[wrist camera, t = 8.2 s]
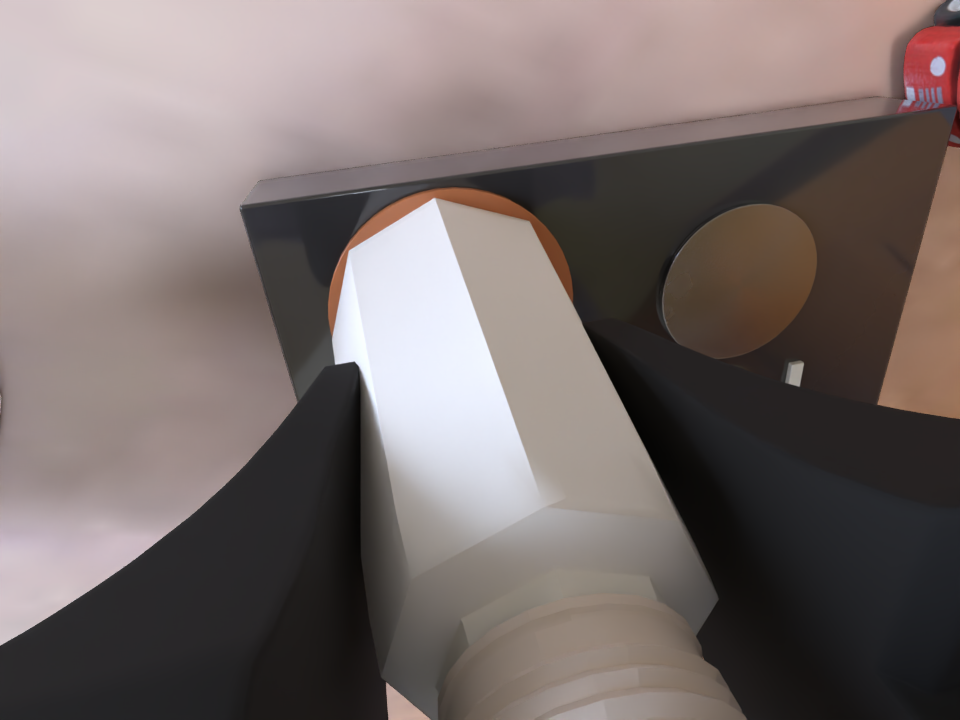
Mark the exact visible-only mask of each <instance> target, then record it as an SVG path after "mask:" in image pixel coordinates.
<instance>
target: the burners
mask: <svg viewBox="0 0 960 720" xmlns="http://www.w3.org/2000/svg"><path fill="white" fill-rule="evenodd" d="M433 198H438V199H442V200H446V201H450V202H454V203H458V204H462V205H466V206H470V207H474V208H478V209H483V210H487V211H491V212H495V213H499V214H503V215H507V216H511V217H515V218H519V219H523V220H527V221H530V223H531V225H532V227H533V229H534V231H535V233H536V235H537V237H538V238H539V240H540V242H541V244H542V246H543V248H544V250H545V252H546V254H547V256H548V258H549V260H550V261H551V263H552V265H553V267H554V269H555V271H556V273H557V275H558V277H559V279H560V281H561V283H562V284H563V286H564V288H565V290H566V292H567V294H568V296H569V298H570V300H571V302H572V304H573V288H572V279H571V275H570V270H569V266H568V263H567V261H566V258H565V256H564V253H563V251H562V249H561V248H560V246H559V244H558V242H557V241H556V239H555V238H554V236H553V235H552V234H551V232H550V231H549V230H548V229H547V227H546V226H545V225H544V224H543V223H542V222H541V221H540V220H539V219H538V218H536V217H535V216H534V215H533V214H532V213H531V212H529V211H528V210H527V209H525V208H524V207H522V206H521V205H519V204H518V203H516V202H514V201H512V200H510V199H508V198H506V197H503V196H501V195H498V194H495V193H492V192H489V191H484V190H479V189H474V188H461V187H450V188H437V189H432V190H427V191H423V192H419V193H416V194H413V195H410V196H407V197H405V198H402V199H400V200H398V201H396V202H394V203H393V204H391V205H389V206H387V207H386V208H384V209H383V210H381V211H380V212H378V213H377V214H375V215H374V216H373V217H372V218H371V219H369V220H368V221H367V222H366V223H365V224H364V225H363V226H362V227H361V228H360V229H359V230H358V231H357V233H356V234H355V235H354V236H353V237H352V239H351V240H350V241H349V243H348V244H347V246H346V248H345V249H344V251H343V253H342V254H341V256H340V258H339V261H338V263H337V265H336V268H335V270H334V274H333V277H332V281H331V285H330V292H329V300H328V319H329V325H330V331H331V335H332V337H333V332H334V326H335V321H336V316H337V310H338V305H339V300H340V294H341V289H342V284H343V278H344V273H345V268H346V262H347V257H348V252H349V250H351V249H352V248H354V247H356V246H357V245H359V244H360V243H362V242H364V241H365V240H367V239H369V238H370V237H372V236H373V235H375V234H377V233H378V232H380V231H382V230H383V229H385V228H386V227H388V226H390V225H391V224H393V223H394V222H396V221H398V220H399V219H401V218H403V217H404V216H406V215H407V214H409V213H411V212H412V211H414V210H416V209H417V208H419V207H420V206H422V205H424V204H425V203H427V202H429V201H430V200H432V199H433ZM816 269H817V251H816V244H815V241H814V238H813V235H812V233H811V232H810V230H809V228H808V226H807V225H806V224H805V222H804V221H803V220H802V219H801V218H800V217H799V216H798V215H796V214H795V213H793V212H792V211H790V210H788V209H786V208H783V207H781V206H778V205H775V204H771V203H765V202H751V203H743V204H739V205H735V206H732V207H729V208H726V209H724V210H722V211H720V212H718V213H715V214H714V215H712V216H710V217H709V218H707V219H706V220H704V221H703V222H702V223H700V224H699V225H698V226H697V227H695V228H694V229H693V230H692V231H691V232H690V233H689V234H688V235H687V236H686V237H685V238H684V240H683V241H682V242H681V243H680V245H679V246H678V247H677V249H676V250H675V252H674V253H673V255H672V257H671V259H670V261H669V262H668V264H667V267H666V269H665V272H664V275H663V278H662V282H661V286H660V294H659V307H660V313H661V318H662V321H663V324H664V326H665V328H666V330H667V332H668V333H669V334H670V336H671V337H672V338H673V339H674V340H675V341H676V342H677V343H678V344H679V345H682V346H684V347H687V348H689V349H692V350H694V351H696V352H699V353H701V354H704V355H706V356H709V357H712V358H714V359H723V358H731V357H735V356H740V355H743V354H746V353H749V352H751V351H753V350H755V349H757V348H760V347H761V346H763V345H765V344H766V343H768V342H769V341H771V340H772V339H773V338H775V337H776V336H778V335H779V334H780V333H781V332H782V331H783V330H784V329H785V328H786V327H787V326H788V325H789V324H790V323H791V322H792V321H793V320H794V318H795V317H796V316H797V314H798V313H799V312H800V310H801V309H802V307H803V305H804V304H805V302H806V300H807V298H808V296H809V294H810V291H811V289H812V286H813V283H814V279H815V275H816Z"/></svg>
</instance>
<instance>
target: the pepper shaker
mask: <svg viewBox="0 0 960 720" xmlns="http://www.w3.org/2000/svg"><path fill="white" fill-rule="evenodd" d="M332 344H333V351H334V359H335V365H336V364H342V363H348V362H354V361H355V363H356V364H357V365H358V366H359V375H360V403H361V561H362V568H363V576H364V583H365V591H366V598H367V606H368V613H369V620H370V625H371V630H372V635H373V640H374V645H375V650H376V655H377V660H378V665H379V670H380V675H381V678H382V679H383V680H385V681H386V682H387V683H388V684H389V685H391V686H392V687H393V688H394V689H395V690H397V691H398V692H399V693H400V694H401V695H403V696H404V697H405V698H406V699H407V700H409V701H410V702H411V703H412V704H413V705H414V706H416V707H417V708H418V709H419V710H420V711H422V712H423V713H424V714H425V715H426V716H428V717H429V718H430V719H431V720H747V718H746V717H745V715H744V714H742V709H741V708H740V706H739V704H738V703H737V701H736V699H735V698H734V696H733V694H732V693H731V691H730V690H729V687H728V685H727V684H726V682H725V680H724V679H723V677H722V675H721V674H720V672H719V670H718V669H716V668H715V667H713V666H712V665H711V664H709V663H708V662H706V661H705V660H703V657H702V647H701V645H700V643H699V641H698V639H697V638H696V635H697V633H698V632H699V630H700V629H701V627H702V625H703V624H704V622H705V621H706V619H707V617H708V616H709V614H710V613H711V611H712V609H713V608H714V606H715V605H716V603H717V601H718V600H719V598H718V595H717V593H716V590H715V588H714V585H713V583H712V580H711V578H710V576H709V574H708V571H707V569H706V567H705V565H704V563H703V561H702V559H701V557H700V554H699V552H698V550H697V547H696V545H695V543H694V541H693V539H692V537H691V535H690V533H689V531H688V529H687V527H686V526H685V524H684V522H683V520H682V518H681V516H680V514H679V512H678V510H677V508H676V506H675V504H674V502H673V500H672V498H671V496H670V494H669V492H668V490H667V488H666V486H665V484H664V482H663V480H662V478H661V476H660V474H659V473H658V471H657V469H656V467H655V465H654V463H653V461H652V459H651V457H650V455H649V453H648V452H647V450H646V448H645V446H644V444H643V442H642V440H641V438H640V436H639V434H638V432H637V430H636V429H635V427H634V425H633V423H632V421H631V419H630V417H629V415H628V413H627V411H626V409H625V407H624V405H623V403H622V401H621V399H620V397H619V395H618V393H617V392H616V390H615V388H614V386H613V384H612V382H611V380H610V378H609V376H608V374H607V372H606V370H605V368H604V366H603V364H602V362H601V360H600V358H599V356H598V354H597V353H596V351H595V349H594V347H593V345H592V343H591V341H590V339H589V337H588V335H587V333H586V331H585V329H584V327H583V325H582V321H581V319H580V318H579V316H578V314H577V312H576V310H575V308H574V306H573V304H572V302H571V300H570V298H569V296H568V294H567V292H566V290H565V288H564V286H563V284H562V283H561V281H560V279H559V277H558V275H557V273H556V271H555V269H554V267H553V265H552V263H551V261H550V260H549V258H548V256H547V254H546V252H545V250H544V248H543V246H542V244H541V242H540V240H539V238H538V237H537V235H536V233H535V231H534V229H533V227H532V225H531V223H530V221H527V220H523V219H519V218H515V217H511V216H507V215H503V214H499V213H495V212H491V211H487V210H483V209H478V208H474V207H470V206H466V205H462V204H458V203H454V202H450V201H446V200H442V199H438V198H433V199H432V200H430V201H429V202H427V203H425V204H424V205H422V206H420V207H419V208H417V209H416V210H414V211H412V212H411V213H409V214H407V215H406V216H404V217H403V218H401V219H399V220H398V221H396V222H394V223H393V224H391V225H390V226H388V227H386V228H385V229H383V230H382V231H380V232H378V233H377V234H375V235H373V236H372V237H370V238H369V239H367V240H365V241H364V242H362V243H360V244H359V245H357V246H356V247H354V248H352V249H351V250H349V252H348V257H347V262H346V268H345V273H344V278H343V284H342V289H341V294H340V300H339V305H338V310H337V316H336V321H335V326H334V332H333V337H332Z"/></svg>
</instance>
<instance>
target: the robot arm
mask: <svg viewBox="0 0 960 720" xmlns="http://www.w3.org/2000/svg"><path fill="white" fill-rule="evenodd" d="M582 325H583V327H584V329H585V331H586V333H587V335H588V337H589V339H590V341H591V343H592V345H593V347H594V349H595V351H596V353H597V354H598V356H599V358H600V360H601V362H602V364H603V366H604V368H605V370H606V372H607V374H608V376H609V378H610V380H611V382H612V384H613V386H614V388H615V390H616V392H617V393H618V395H619V397H620V399H621V401H622V403H623V405H624V407H625V409H626V411H627V413H628V415H629V417H630V419H631V421H632V423H633V425H634V427H635V429H636V430H637V432H638V434H639V436H640V438H641V440H642V442H643V444H644V446H645V448H646V450H647V452H648V453H649V455H650V457H651V459H652V461H653V463H654V465H655V467H656V469H657V471H658V473H659V474H660V476H661V478H662V480H663V482H664V484H665V486H666V488H667V490H668V492H669V494H670V496H671V498H672V500H673V502H674V504H675V506H676V508H677V510H678V512H679V514H680V516H681V518H682V520H683V522H684V524H685V526H686V527H687V529H688V531H689V533H690V535H691V537H692V539H693V541H694V543H695V545H696V547H697V550H698V552H699V554H700V557H701V559H702V561H703V563H704V565H705V567H706V569H707V571H708V574H709V576H710V578H711V580H712V583H713V585H714V588H715V590H716V593H717V595H718V598H719V600H718V601H717V603H716V605H715V606H714V608H713V609H712V611H711V613H710V614H709V616H708V617H707V619H706V621H705V622H704V624H703V625H702V627H701V629H700V630H699V632H698V633H697V635H696V638H697V639H698V641H699V643H700V645H701V647H702V656H703V658H704V660H705V661H706V662H708V663H709V664H711V665H712V666H713V667H715V668H716V669H718V670H719V672H720V674H721V675H722V677H723V679H724V680H725V682H726V684H727V685H728V687H729V690H730V691H731V693H732V694H733V696H734V698H735V699H736V701H737V703H738V704H739V706H740V708H741V709H742V714H744V715H745V717H746V718H747V720H960V419H956V418H948V417H942V416H936V415H929V414H923V413H917V412H911V411H905V410H900V409H895V408H890V407H885V406H880V405H874V404H869V403H864V402H859V401H854V400H850V399H846V398H841V397H837V396H833V395H829V394H825V393H821V392H817V391H814V390H810V389H806V388H803V387H799V386H795V385H792V384H788V383H784V382H781V381H778V380H774V379H771V378H768V377H765V376H762V375H759V374H756V373H753V372H750V371H747V370H744V369H742V368H739V367H736V366H733V365H730V364H727V363H725V362H722V361H719V360H717V359H714V358H712V357H709V356H706V355H704V354H701V353H699V352H696V351H694V350H692V349H689V348H687V347H684V346H682V345H679V344H677V343H675V342H672V341H670V340H668V339H665V338H663V337H661V336H658V335H656V334H654V333H651V332H649V331H646V330H644V329H642V328H639V327H637V326H634V325H632V324H629V323H627V322H624V321H621V320H618V319H614V318H609V319H603V320H597V321H591V322H585V323H582ZM0 720H388V710H387V695H386V681H385V680H383V679H382V678H381V675H380V670H379V665H378V660H377V655H376V650H375V645H374V640H373V635H372V630H371V625H370V620H369V613H368V606H367V598H366V591H365V583H364V576H363V568H362V561H361V403H360V375H359V366H358V365H357V364H356V363H355V361H354V362H348V363H342V364H336V365H330V366H325V367H324V369H323V370H322V371H321V372H320V374H319V375H318V376H317V378H316V379H315V380H314V382H313V383H312V384H311V386H310V387H309V388H308V390H307V391H306V392H305V394H304V395H303V396H302V398H301V399H300V400H299V402H298V403H297V405H296V406H295V407H294V409H293V410H292V411H291V412H290V414H289V415H288V416H287V417H286V419H285V420H284V421H283V422H282V424H281V425H280V426H279V428H278V429H277V430H276V431H275V432H274V433H273V435H272V436H271V437H270V438H269V439H268V440H267V441H266V442H265V444H264V445H263V446H262V447H261V448H260V449H259V450H258V451H257V453H256V454H255V455H254V456H253V457H252V458H251V459H250V460H249V462H248V463H247V464H246V465H245V466H244V467H243V468H242V469H241V470H240V471H239V472H238V473H237V474H236V475H235V476H234V477H233V478H232V479H231V480H230V481H229V482H228V483H227V484H226V485H225V486H224V487H223V488H222V489H220V490H219V491H218V492H217V493H216V494H215V495H214V496H213V497H212V498H210V499H209V500H208V501H207V502H206V503H205V504H204V505H203V506H202V507H201V508H199V509H198V510H197V511H196V512H195V513H194V514H192V515H191V516H190V517H189V518H188V519H186V520H185V521H184V522H182V523H181V524H180V525H179V526H177V527H176V528H175V529H173V530H172V531H171V532H170V533H168V534H167V535H166V536H165V537H163V538H162V539H161V540H159V541H158V542H157V543H156V544H154V545H153V546H152V547H150V548H149V549H148V550H147V551H145V552H144V553H143V554H141V555H140V556H139V557H138V558H136V559H135V560H134V561H132V562H131V563H129V564H128V565H127V566H125V567H124V568H122V569H121V570H119V571H118V572H116V573H115V574H114V575H112V576H111V577H109V578H108V579H106V580H105V581H103V582H102V583H101V584H99V585H98V586H96V587H95V588H93V589H92V590H90V591H89V592H87V593H86V594H84V595H82V596H81V597H79V598H78V599H76V600H75V601H73V602H72V603H70V604H69V605H67V606H66V607H64V608H62V609H61V610H59V611H58V612H56V613H55V614H53V615H51V616H50V617H48V618H47V619H45V620H43V621H42V622H40V623H38V624H37V625H35V626H34V627H32V628H30V629H29V630H27V631H25V632H24V633H22V634H20V635H18V636H17V637H15V638H13V639H11V640H10V641H8V642H6V643H4V644H3V645H1V646H0Z"/></svg>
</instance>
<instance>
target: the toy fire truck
mask: <svg viewBox="0 0 960 720" xmlns="http://www.w3.org/2000/svg"><path fill="white" fill-rule="evenodd" d="M934 24H935V26H932V27H928V28H925V29H922V30H921V31H920V32H918V33H916V34H915V36H914V37H913V38H912V39H911V40H910V42H909V43H908V45H907V48H906V53H905V58H904V91H905V98H906V100H913V101H922V102H931V103H940V104H948V105H955V106H957V107H958V109H957V113H956V117H955V120H954V124H953V128H952V131H951V135H950V139H949V142H948V146H952V147H958V148H960V0H947V1H945V2H944V3H943V4H942V5H941V6H939V8H938V9H937V10H936V11H935V15H934Z"/></svg>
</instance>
